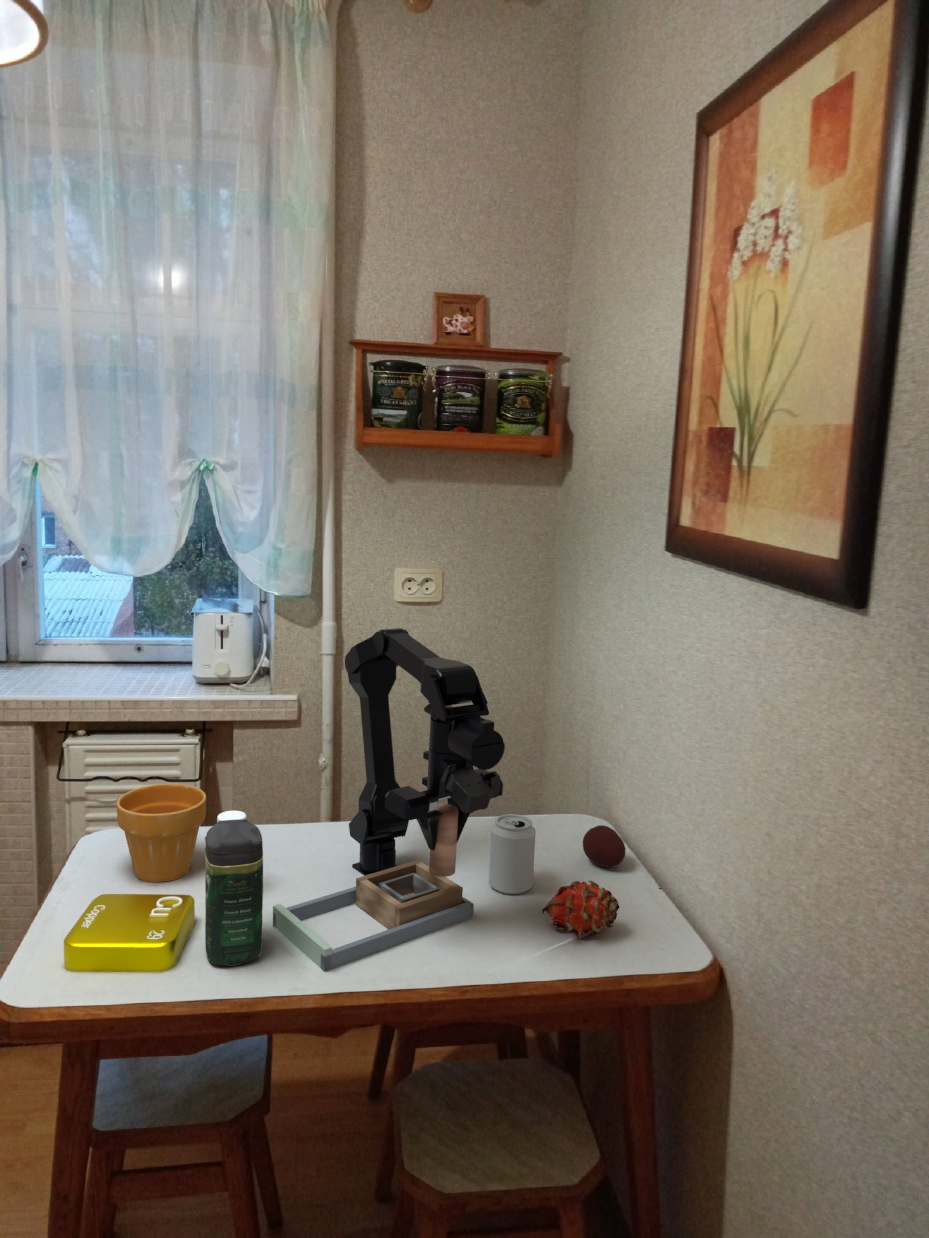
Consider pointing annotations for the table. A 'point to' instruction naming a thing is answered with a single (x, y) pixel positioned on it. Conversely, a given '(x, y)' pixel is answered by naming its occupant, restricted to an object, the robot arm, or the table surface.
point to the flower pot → (161, 828)
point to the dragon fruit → (582, 908)
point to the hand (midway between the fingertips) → (443, 845)
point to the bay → (330, 958)
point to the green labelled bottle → (233, 892)
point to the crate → (405, 894)
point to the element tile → (130, 933)
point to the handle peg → (445, 842)
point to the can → (512, 854)
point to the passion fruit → (604, 846)
